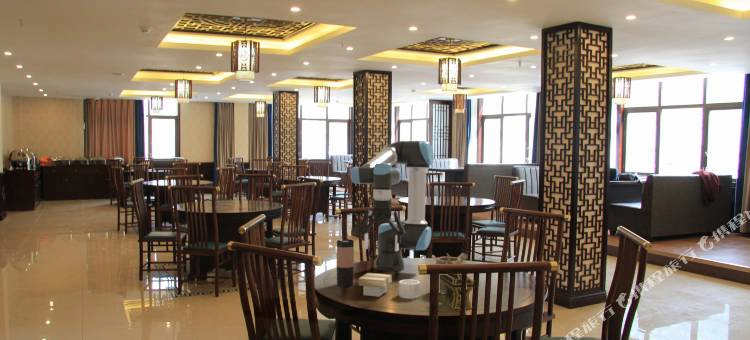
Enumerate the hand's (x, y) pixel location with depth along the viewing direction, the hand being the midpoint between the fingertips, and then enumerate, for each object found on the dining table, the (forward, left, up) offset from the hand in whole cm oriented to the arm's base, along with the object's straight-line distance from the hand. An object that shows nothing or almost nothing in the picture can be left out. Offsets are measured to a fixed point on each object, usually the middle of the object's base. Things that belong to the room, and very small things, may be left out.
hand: (381, 249), depth 238 cm
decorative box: (+6, +33, -19) cm, 38 cm away
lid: (+2, -2, -14) cm, 14 cm away
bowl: (+2, +13, -18) cm, 22 cm away
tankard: (-15, +28, -19) cm, 37 cm away
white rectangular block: (+2, -2, -18) cm, 18 cm away
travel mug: (-6, -19, -18) cm, 27 cm away
